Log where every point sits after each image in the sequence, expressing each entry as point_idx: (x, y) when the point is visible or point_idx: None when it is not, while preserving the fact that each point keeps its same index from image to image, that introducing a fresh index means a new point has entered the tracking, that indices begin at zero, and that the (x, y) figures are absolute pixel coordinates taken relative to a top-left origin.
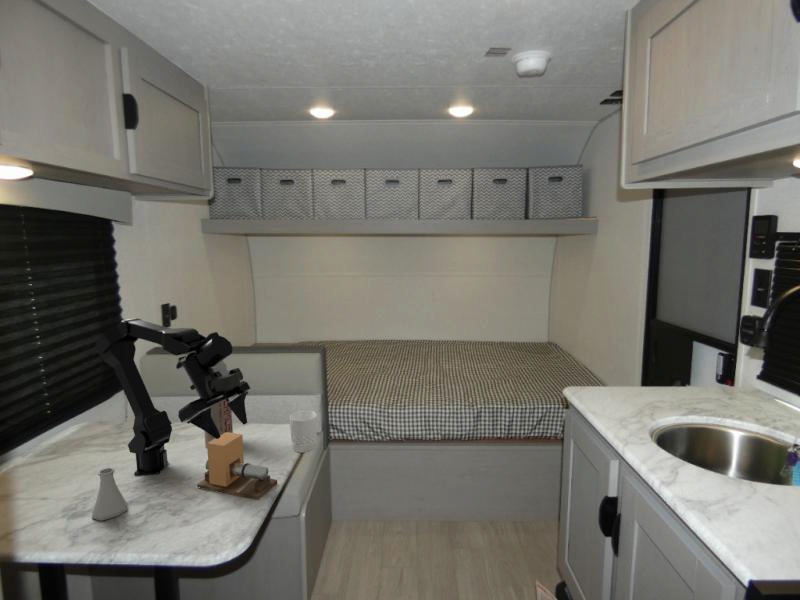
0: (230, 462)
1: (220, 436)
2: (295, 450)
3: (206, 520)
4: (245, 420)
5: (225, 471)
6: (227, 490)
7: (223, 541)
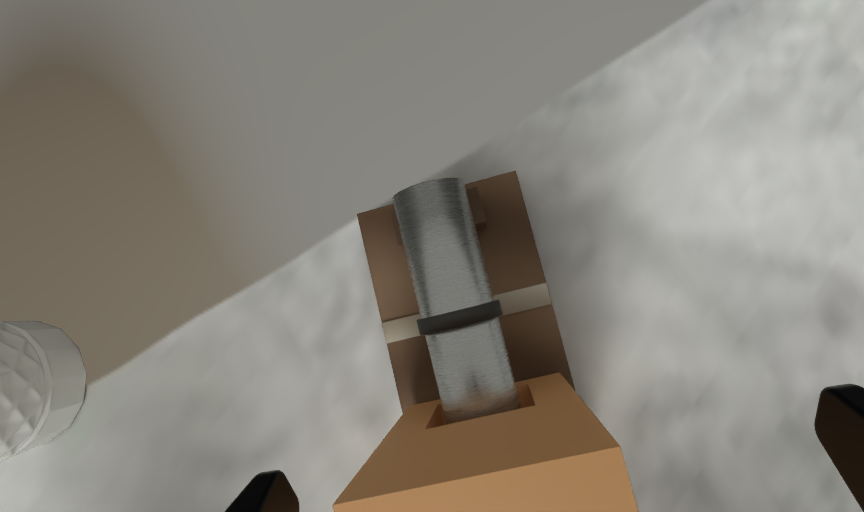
0: (522, 410)
1: (829, 388)
2: (80, 390)
3: (768, 239)
4: (264, 496)
5: (571, 390)
6: (564, 352)
7: (817, 39)
